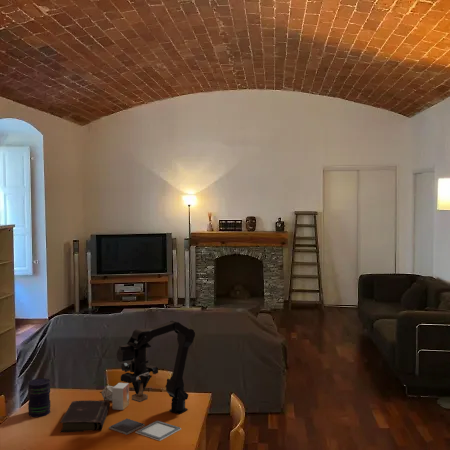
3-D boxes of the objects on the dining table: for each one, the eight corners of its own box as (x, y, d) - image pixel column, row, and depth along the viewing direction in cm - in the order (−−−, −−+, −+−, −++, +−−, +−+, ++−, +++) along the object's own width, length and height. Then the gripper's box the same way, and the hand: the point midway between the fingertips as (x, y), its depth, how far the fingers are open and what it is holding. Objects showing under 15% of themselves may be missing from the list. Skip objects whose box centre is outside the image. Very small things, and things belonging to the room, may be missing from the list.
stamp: (139, 396, 239) (139, 381, 239) (147, 399, 237) (147, 383, 236) (131, 399, 235) (131, 384, 235) (139, 402, 232) (139, 386, 232)
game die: (113, 407, 263) (125, 391, 264) (104, 407, 255) (117, 390, 256) (101, 396, 267) (114, 379, 268) (93, 395, 259) (105, 378, 260)
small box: (123, 410, 250) (123, 388, 250) (112, 409, 251) (111, 387, 251) (129, 404, 258) (129, 383, 257) (118, 403, 259) (118, 382, 258)
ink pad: (126, 419, 239) (126, 417, 239) (144, 425, 233) (144, 423, 233) (108, 428, 230) (108, 426, 230) (126, 434, 224) (126, 432, 224)
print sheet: (157, 421, 237) (157, 420, 237) (181, 429, 229) (181, 427, 229) (135, 432, 226) (135, 431, 226) (160, 441, 218) (160, 439, 218)
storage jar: (28, 418, 240) (28, 386, 240) (27, 411, 249) (27, 379, 249) (51, 415, 244) (51, 383, 244) (49, 407, 253) (49, 377, 253)
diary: (109, 410, 252) (110, 399, 252) (102, 432, 227) (102, 421, 227) (70, 410, 251) (70, 400, 251) (58, 433, 226) (58, 422, 226)
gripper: (141, 350, 248) (141, 383, 248) (111, 359, 232) (111, 394, 233) (159, 354, 241) (158, 388, 242) (130, 364, 226) (129, 400, 226)
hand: (139, 392), depth 236 cm, fingers closed on stamp, 3 cm apart
